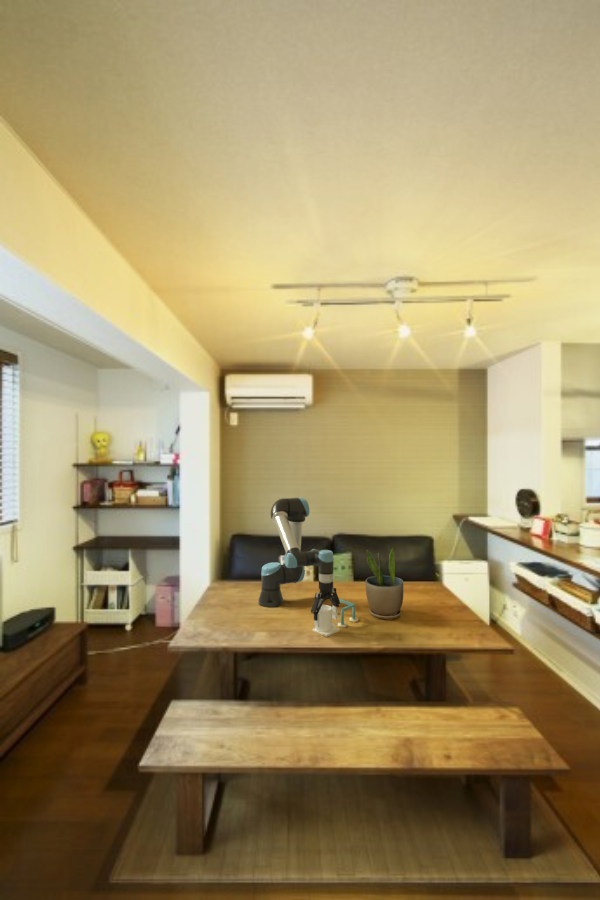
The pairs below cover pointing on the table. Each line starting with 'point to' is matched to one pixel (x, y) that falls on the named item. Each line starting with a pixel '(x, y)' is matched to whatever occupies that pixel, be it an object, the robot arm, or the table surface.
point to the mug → (326, 618)
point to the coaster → (326, 632)
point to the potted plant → (384, 590)
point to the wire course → (352, 619)
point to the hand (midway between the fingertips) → (325, 622)
